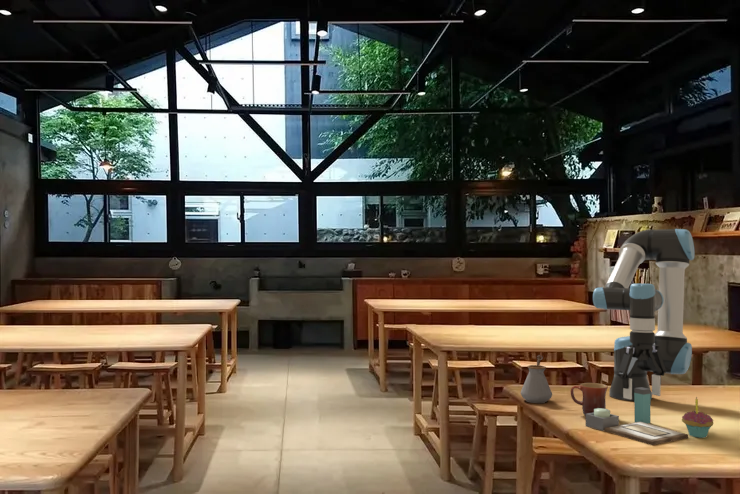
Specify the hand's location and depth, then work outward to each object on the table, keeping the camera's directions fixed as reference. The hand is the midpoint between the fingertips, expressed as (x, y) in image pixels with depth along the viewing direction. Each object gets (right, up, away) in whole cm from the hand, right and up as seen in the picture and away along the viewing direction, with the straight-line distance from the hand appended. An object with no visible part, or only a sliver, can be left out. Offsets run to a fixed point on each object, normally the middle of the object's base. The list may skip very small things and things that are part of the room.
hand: (642, 397), depth 211 cm
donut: (+11, -8, -15) cm, 20 cm away
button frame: (-15, -8, -5) cm, 18 cm away
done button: (-15, -6, -5) cm, 17 cm away
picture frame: (-5, -8, -14) cm, 17 cm away
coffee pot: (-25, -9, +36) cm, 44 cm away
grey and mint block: (0, -8, 0) cm, 8 cm away
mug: (-14, -9, +10) cm, 19 cm away
